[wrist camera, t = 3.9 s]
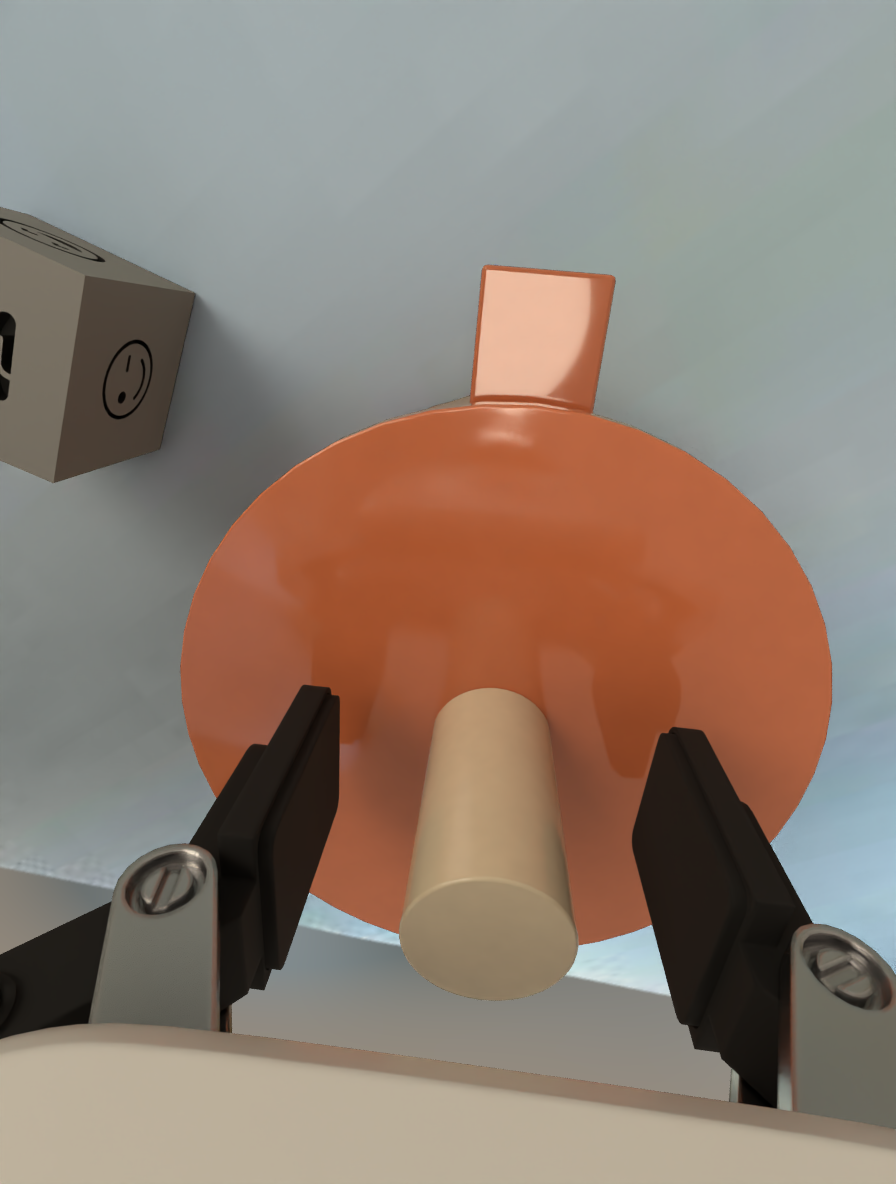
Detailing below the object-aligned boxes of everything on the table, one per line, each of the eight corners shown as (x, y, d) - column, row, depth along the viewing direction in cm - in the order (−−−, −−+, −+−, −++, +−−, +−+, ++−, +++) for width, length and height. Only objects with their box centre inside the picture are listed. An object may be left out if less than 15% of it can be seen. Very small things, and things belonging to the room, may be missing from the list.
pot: (313, 777, 24) (239, 950, 17) (305, 277, 17) (171, 232, 10) (627, 815, 24) (680, 1009, 17) (762, 316, 16) (956, 297, 9)
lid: (225, 878, 17) (96, 1135, 11) (174, 366, 11) (-130, 389, 6) (711, 940, 16) (818, 1243, 11) (908, 434, 11) (1335, 530, 5)
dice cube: (159, 449, 19) (53, 483, 15) (10, 383, 19) (-149, 396, 14) (195, 293, 17) (85, 275, 13) (29, 215, 17) (-148, 166, 12)
